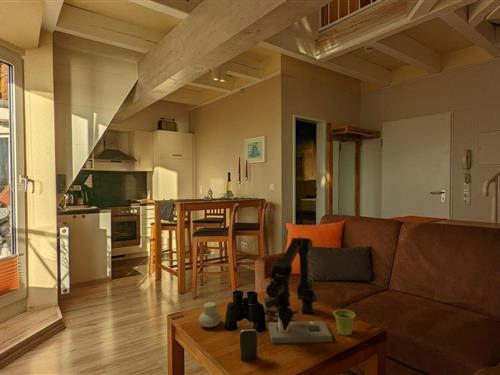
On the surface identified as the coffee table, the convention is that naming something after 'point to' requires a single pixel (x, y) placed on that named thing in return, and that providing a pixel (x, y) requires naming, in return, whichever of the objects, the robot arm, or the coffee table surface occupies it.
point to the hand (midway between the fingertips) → (283, 324)
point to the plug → (281, 326)
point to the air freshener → (210, 315)
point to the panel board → (300, 332)
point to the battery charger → (248, 343)
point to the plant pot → (344, 321)
